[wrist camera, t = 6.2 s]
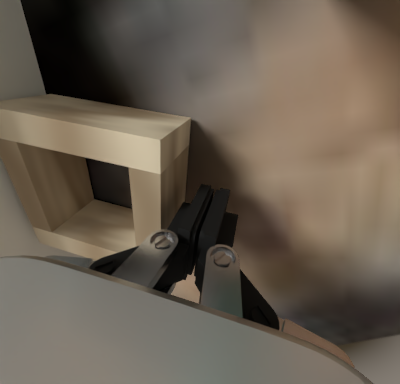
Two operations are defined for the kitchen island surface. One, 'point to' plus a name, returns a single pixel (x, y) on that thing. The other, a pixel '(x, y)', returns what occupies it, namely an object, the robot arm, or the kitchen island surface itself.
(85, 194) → the light wooden square frame
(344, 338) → the kitchen island surface
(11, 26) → the wall
